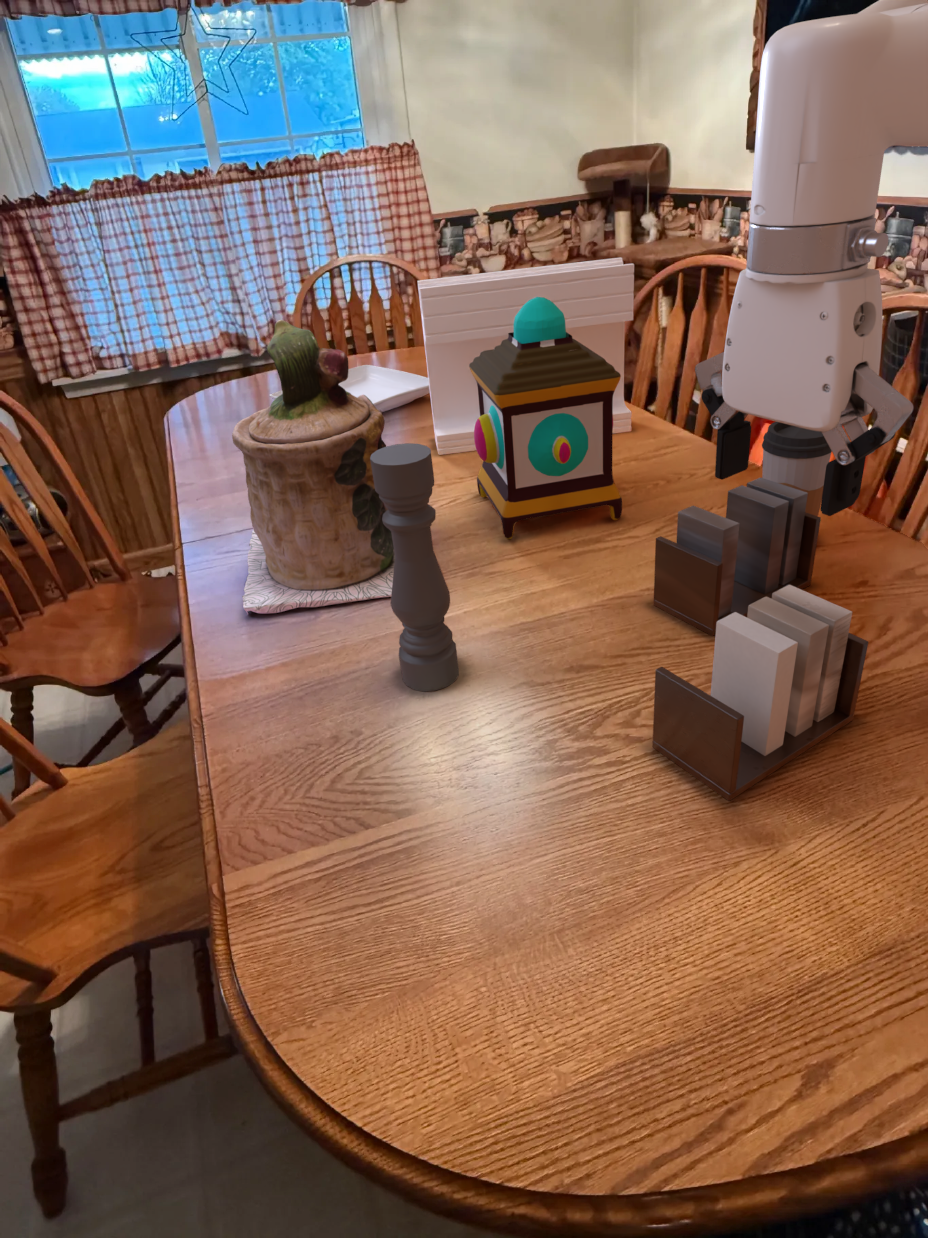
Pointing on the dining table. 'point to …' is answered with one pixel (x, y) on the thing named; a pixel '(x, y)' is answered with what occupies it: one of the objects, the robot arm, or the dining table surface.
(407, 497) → the candle holder
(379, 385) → the square plate
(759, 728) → the white book
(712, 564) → the dark brown wooden holder
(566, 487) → the decorative lantern
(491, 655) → the dining table surface
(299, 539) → the cookie jar
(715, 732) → the dark brown rack
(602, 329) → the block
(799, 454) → the coffee cup
